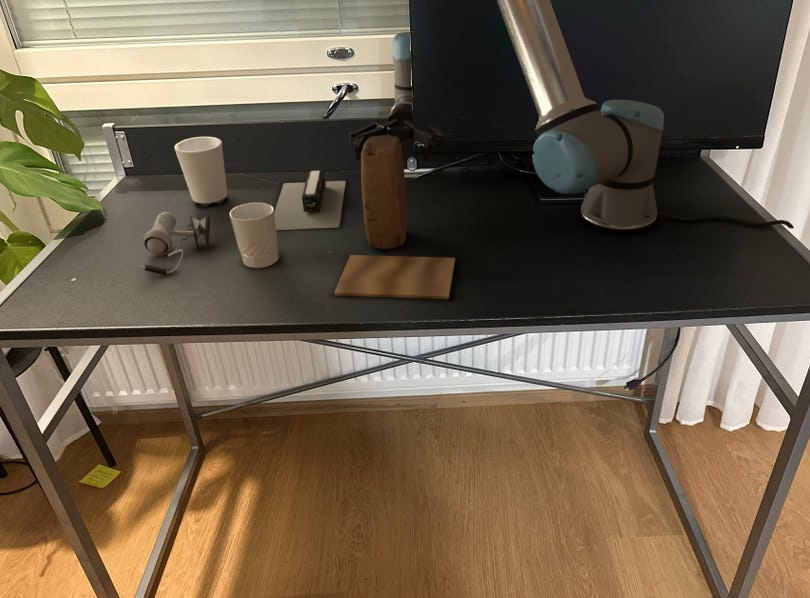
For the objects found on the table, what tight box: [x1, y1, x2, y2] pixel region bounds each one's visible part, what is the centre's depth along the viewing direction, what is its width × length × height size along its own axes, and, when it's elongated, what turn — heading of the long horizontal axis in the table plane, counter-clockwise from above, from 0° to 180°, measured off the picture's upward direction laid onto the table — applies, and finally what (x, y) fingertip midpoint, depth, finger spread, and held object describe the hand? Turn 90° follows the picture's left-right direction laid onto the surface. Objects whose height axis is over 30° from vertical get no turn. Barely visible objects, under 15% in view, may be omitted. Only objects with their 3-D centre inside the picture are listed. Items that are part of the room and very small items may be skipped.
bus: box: [274, 169, 347, 231], centre depth 152 cm, size 14×25×4 cm, turn 3°
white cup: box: [229, 201, 280, 269], centre depth 130 cm, size 8×8×10 cm
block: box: [360, 135, 408, 250], centre depth 133 cm, size 11×8×20 cm
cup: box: [174, 136, 228, 207], centre depth 153 cm, size 10×10×13 cm
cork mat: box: [334, 254, 456, 300], centre depth 126 cm, size 20×14×1 cm
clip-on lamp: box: [139, 211, 211, 276], centre depth 134 cm, size 12×6×18 cm
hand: (391, 154), depth 138 cm, fingers open, 13 cm apart
